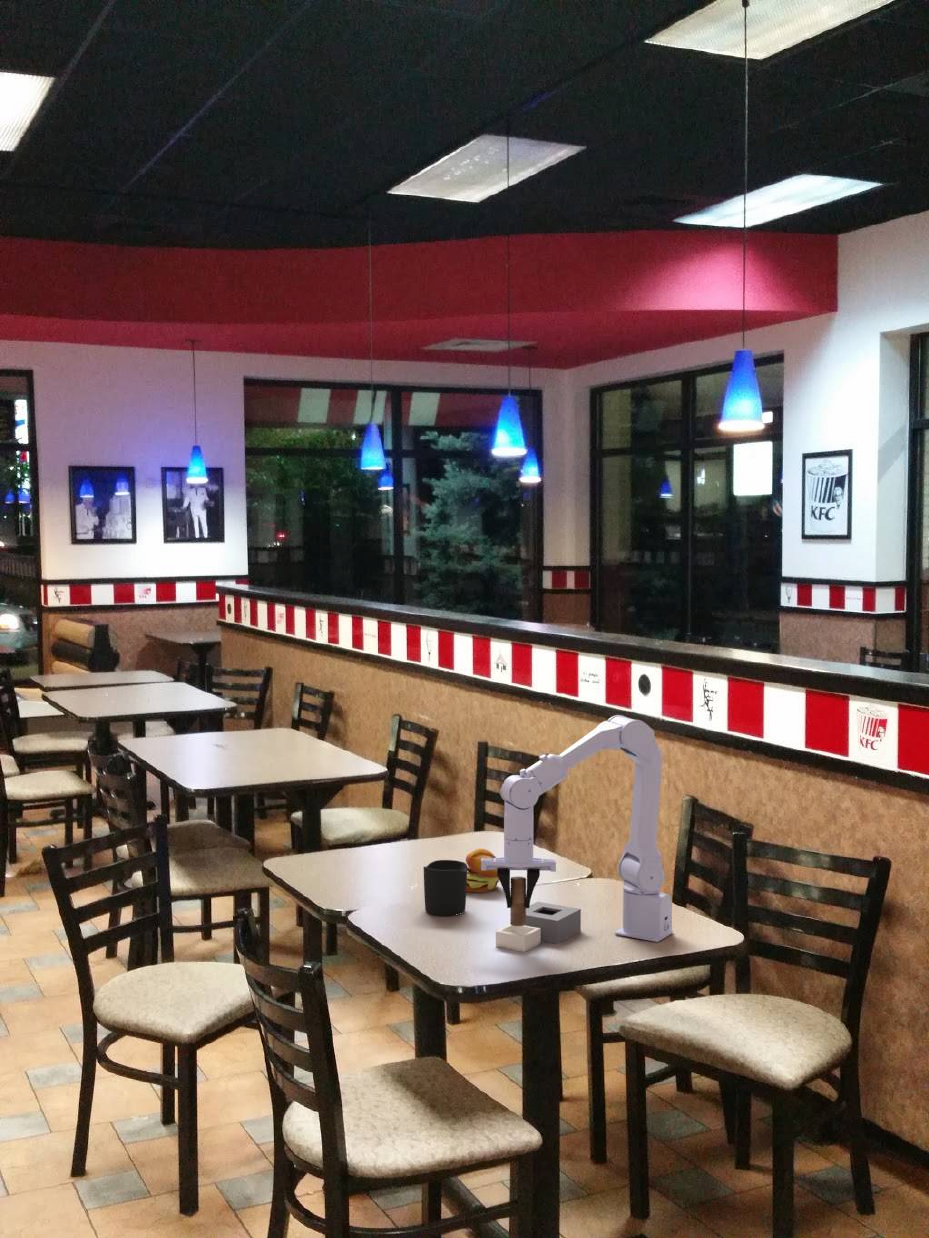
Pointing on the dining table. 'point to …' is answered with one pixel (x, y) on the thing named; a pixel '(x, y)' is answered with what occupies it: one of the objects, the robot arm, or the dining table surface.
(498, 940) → the box
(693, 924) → the dining table surface
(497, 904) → the dining table surface
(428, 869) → the pen holder
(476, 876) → the cheeseburger
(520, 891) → the brown wooden cylinder
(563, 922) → the box
